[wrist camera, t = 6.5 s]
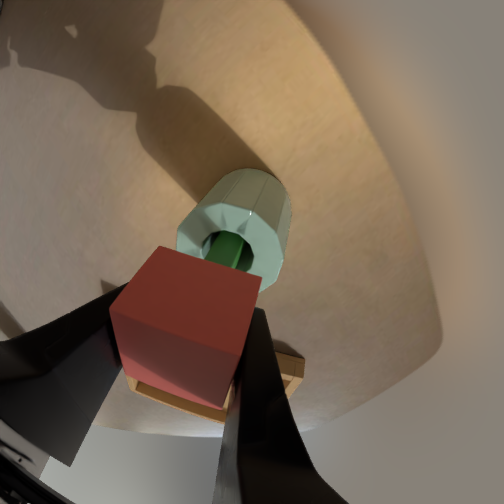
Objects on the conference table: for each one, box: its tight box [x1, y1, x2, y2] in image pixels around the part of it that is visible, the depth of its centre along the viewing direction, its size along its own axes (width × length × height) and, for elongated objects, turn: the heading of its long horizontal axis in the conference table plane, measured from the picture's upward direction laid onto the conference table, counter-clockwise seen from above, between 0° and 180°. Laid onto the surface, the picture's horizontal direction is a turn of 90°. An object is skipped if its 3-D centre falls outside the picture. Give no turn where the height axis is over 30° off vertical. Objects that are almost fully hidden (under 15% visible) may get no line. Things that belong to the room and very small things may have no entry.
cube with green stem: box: [109, 230, 262, 410], centre depth 11 cm, size 3×3×9 cm
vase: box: [176, 168, 292, 293], centre depth 14 cm, size 5×5×5 cm
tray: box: [125, 352, 305, 425], centre depth 26 cm, size 17×15×2 cm
